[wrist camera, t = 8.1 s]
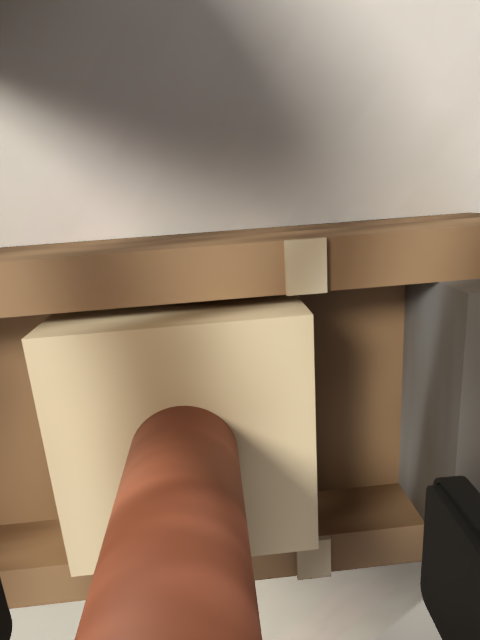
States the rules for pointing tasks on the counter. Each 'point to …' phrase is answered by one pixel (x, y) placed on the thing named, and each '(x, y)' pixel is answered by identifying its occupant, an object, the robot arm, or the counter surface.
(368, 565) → the base
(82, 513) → the carriage
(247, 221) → the counter surface
